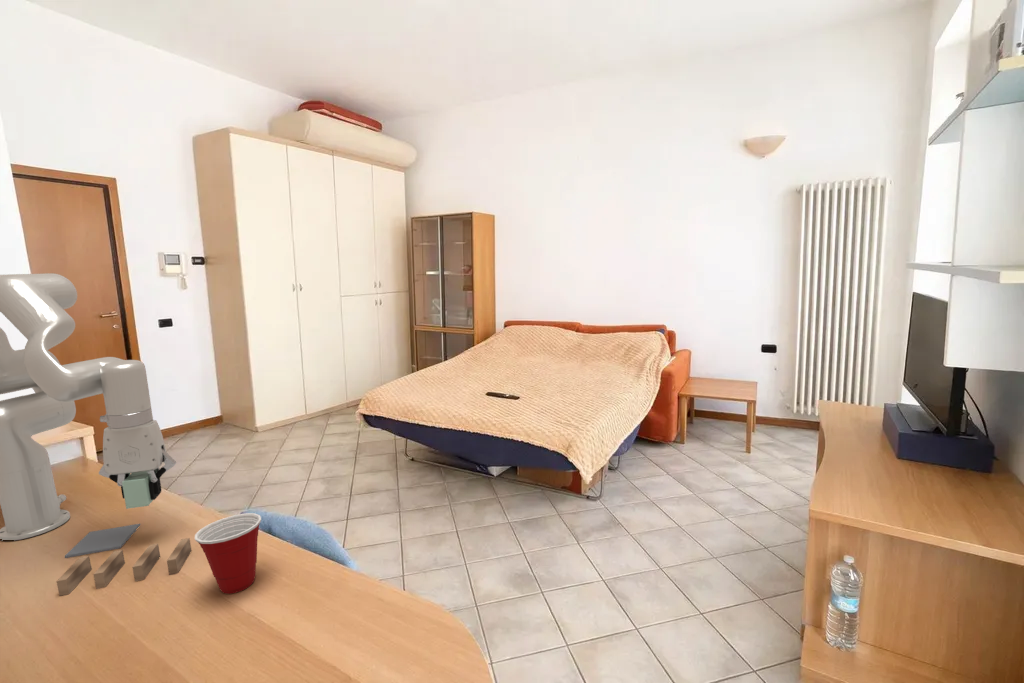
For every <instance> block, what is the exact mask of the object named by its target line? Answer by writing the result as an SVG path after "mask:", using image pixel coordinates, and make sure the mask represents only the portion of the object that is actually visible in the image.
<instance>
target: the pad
mask: <svg viewBox="0 0 1024 683" xmlns="http://www.w3.org/2000/svg"><path fill="white" fill-rule="evenodd" d="M140 525H141V523H136V524H135V523H134V524H129V525H124V526H118V527H112V528H111V527H110V528H105V529H99V530H92V531H89V532H88V533H87V534H86V535H85V536H84V537H83V538H81V540H79V541H78V542H77V544H76V545H74V546H73V548H71V549H70V550H69V551H68V552H67V553H65V555H64V559H68V558H72V557H73V558H74V557H79V556H80V557H81V556H83V555H84V556H86V555H90V554H94V553H95V554H97V553H101V552H106V551H107V552H108V551H115V550H120V549H122V547H123V546H124V545H125V544H126V543H127V542H128V541H129V539H131V537H132V536H133V535H134V534H135V532H137V530H138V529H139V528H140V527H141V526H140ZM139 526H140V527H139ZM138 527H139V528H138ZM137 528H138V529H137ZM136 529H137V530H136ZM133 533H134V534H133ZM132 534H133V535H132ZM131 535H132V536H131ZM126 541H127V542H126Z"/></svg>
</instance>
